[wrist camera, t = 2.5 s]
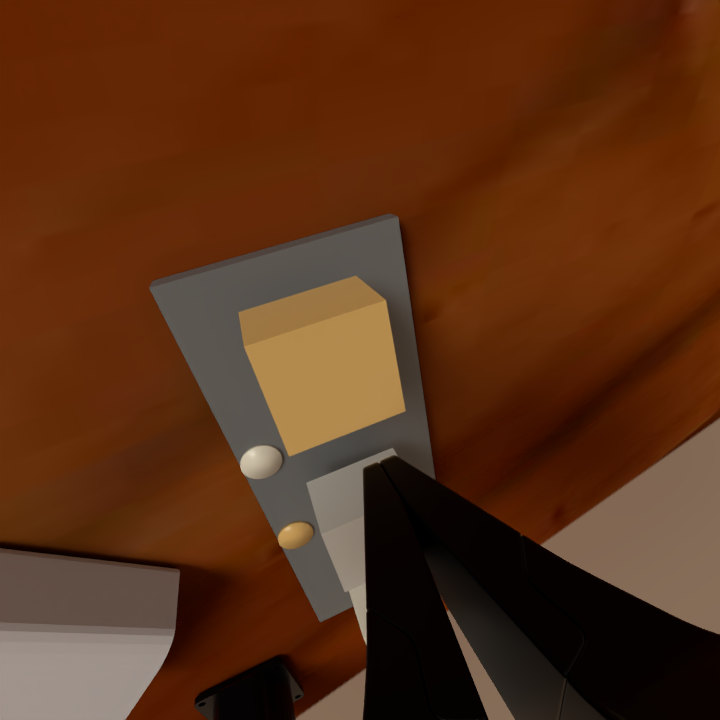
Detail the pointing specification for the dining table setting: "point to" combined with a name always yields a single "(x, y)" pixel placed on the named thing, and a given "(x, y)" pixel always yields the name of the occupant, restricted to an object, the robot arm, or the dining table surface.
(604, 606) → the robot arm
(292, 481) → the keypad base
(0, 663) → the charger
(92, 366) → the dining table surface
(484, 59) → the dining table surface
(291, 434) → the key amber
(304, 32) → the dining table surface
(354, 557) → the key grey
